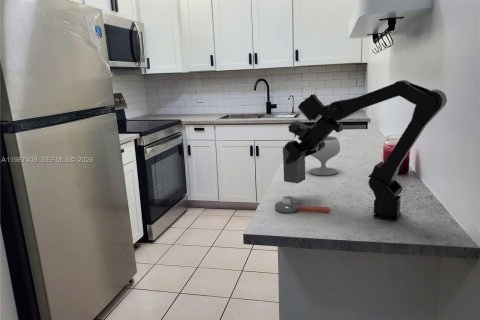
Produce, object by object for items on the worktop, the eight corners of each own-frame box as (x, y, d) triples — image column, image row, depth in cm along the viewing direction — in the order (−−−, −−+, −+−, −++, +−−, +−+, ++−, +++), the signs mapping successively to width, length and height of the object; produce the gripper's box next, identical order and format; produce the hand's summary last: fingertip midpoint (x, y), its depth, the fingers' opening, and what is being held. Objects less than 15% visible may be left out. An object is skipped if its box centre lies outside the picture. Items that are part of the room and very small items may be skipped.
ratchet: (331, 207, 118) (331, 195, 117) (328, 216, 111) (328, 204, 110) (278, 204, 124) (278, 193, 123) (272, 212, 117) (271, 200, 116)
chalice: (305, 176, 155) (305, 141, 151) (308, 168, 168) (308, 135, 165) (340, 177, 151) (340, 141, 148) (340, 168, 164) (340, 135, 161)
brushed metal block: (305, 179, 127) (304, 145, 124) (297, 183, 123) (296, 148, 120) (291, 177, 130) (290, 144, 128) (284, 181, 126) (282, 147, 123)
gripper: (316, 110, 126) (289, 139, 135) (288, 116, 112) (260, 149, 121) (338, 133, 123) (309, 162, 132) (312, 143, 109) (282, 175, 118)
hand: (290, 161), depth 126 cm, fingers closed on brushed metal block, 5 cm apart
